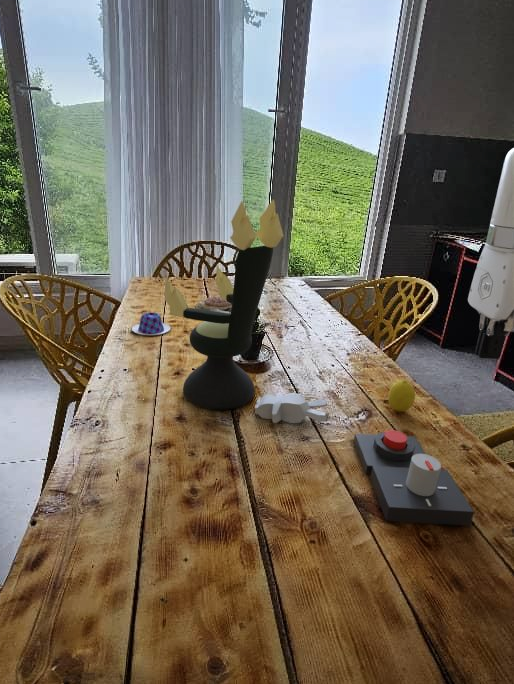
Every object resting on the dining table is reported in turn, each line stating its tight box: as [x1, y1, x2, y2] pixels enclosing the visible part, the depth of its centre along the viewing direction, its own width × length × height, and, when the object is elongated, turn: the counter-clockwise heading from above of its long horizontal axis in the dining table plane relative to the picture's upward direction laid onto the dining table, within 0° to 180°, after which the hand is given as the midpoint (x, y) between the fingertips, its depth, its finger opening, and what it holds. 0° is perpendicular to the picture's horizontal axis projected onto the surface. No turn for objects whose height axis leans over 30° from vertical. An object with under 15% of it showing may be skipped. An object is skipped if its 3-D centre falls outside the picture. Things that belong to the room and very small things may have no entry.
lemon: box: [387, 379, 416, 413], centre depth 99 cm, size 6×6×8 cm
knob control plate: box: [369, 466, 475, 527], centre depth 73 cm, size 13×10×3 cm
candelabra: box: [164, 199, 285, 411], centre depth 95 cm, size 19×22×45 cm
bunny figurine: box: [254, 392, 328, 424], centre depth 95 cm, size 10×5×15 cm
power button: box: [383, 429, 407, 450], centre depth 82 cm, size 4×4×2 cm
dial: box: [406, 453, 442, 496], centre depth 71 cm, size 4×4×5 cm
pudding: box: [131, 311, 171, 336], centre depth 140 cm, size 12×12×5 cm
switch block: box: [353, 431, 427, 476], centre depth 83 cm, size 12×10×4 cm
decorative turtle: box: [194, 295, 232, 314], centre depth 162 cm, size 18×17×5 cm
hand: (486, 356), depth 70 cm, fingers closed
